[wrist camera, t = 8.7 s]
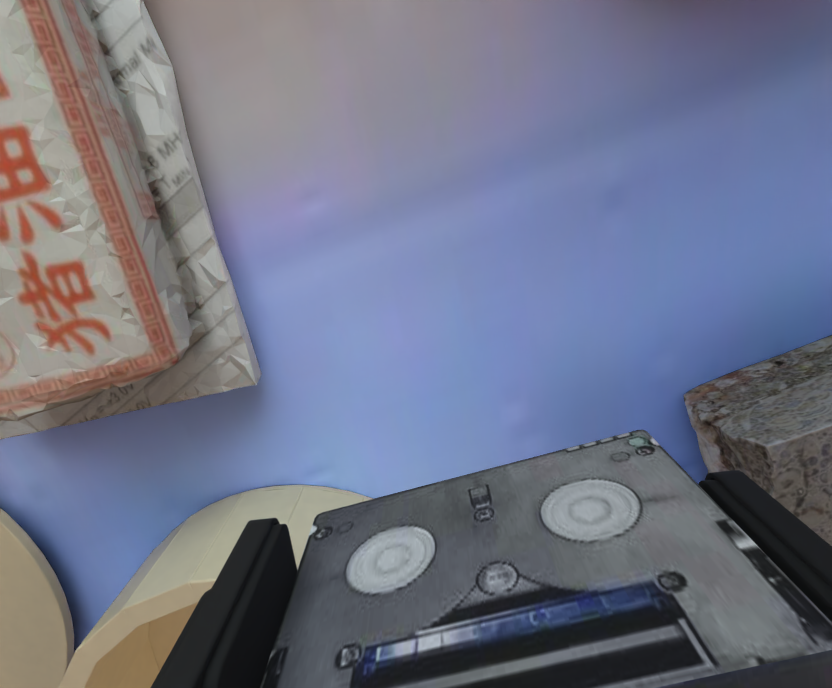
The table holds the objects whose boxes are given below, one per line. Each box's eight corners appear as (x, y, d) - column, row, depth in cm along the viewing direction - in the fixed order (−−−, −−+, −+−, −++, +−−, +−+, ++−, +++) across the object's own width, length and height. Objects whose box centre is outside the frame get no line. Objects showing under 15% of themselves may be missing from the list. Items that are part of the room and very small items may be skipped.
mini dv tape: (336, 562, 13) (268, 852, 7) (316, 513, 13) (227, 779, 7) (653, 482, 12) (860, 734, 7) (643, 428, 12) (854, 645, 6)
